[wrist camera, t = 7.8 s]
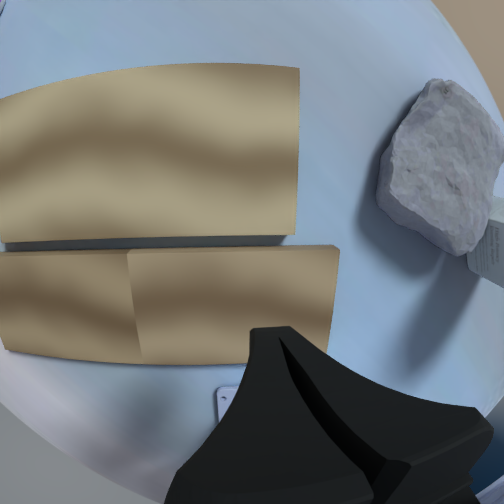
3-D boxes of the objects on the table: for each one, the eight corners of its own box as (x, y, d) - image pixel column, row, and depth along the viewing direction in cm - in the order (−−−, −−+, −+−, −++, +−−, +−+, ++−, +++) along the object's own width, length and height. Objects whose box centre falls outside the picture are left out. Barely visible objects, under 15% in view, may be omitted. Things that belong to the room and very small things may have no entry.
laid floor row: (320, 347, 22) (325, 355, 21) (11, 342, 19) (5, 349, 18) (332, 244, 20) (339, 249, 19) (-13, 252, 17) (-21, 256, 15)
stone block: (350, 201, 21) (447, 257, 21) (371, 202, 16) (480, 270, 17) (400, 74, 19) (487, 138, 19) (426, 52, 14) (520, 131, 15)
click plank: (290, 230, 19) (295, 234, 18) (10, 238, 17) (1, 242, 15) (294, 73, 16) (299, 67, 15) (6, 102, 14) (-4, 100, 12)
